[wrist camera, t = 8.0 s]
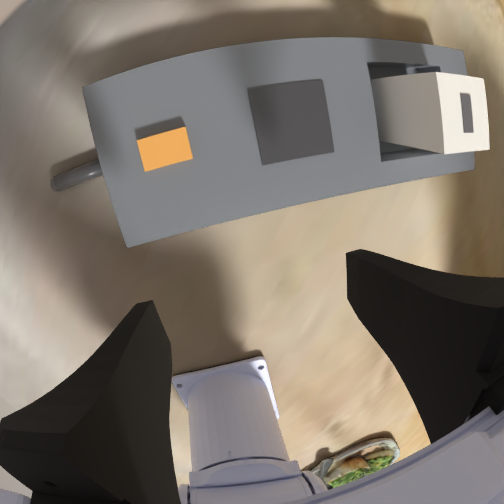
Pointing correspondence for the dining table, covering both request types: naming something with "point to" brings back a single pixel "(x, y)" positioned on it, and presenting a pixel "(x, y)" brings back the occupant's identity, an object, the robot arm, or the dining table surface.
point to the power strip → (252, 131)
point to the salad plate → (356, 462)
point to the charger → (432, 112)
